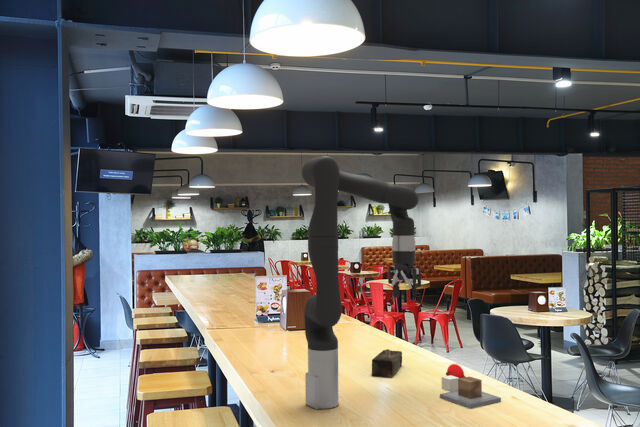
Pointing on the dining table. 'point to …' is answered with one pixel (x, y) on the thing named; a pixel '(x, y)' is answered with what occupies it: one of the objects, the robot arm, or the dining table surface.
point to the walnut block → (469, 387)
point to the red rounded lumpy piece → (455, 371)
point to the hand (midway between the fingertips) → (404, 298)
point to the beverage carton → (386, 363)
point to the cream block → (450, 383)
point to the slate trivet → (472, 402)
